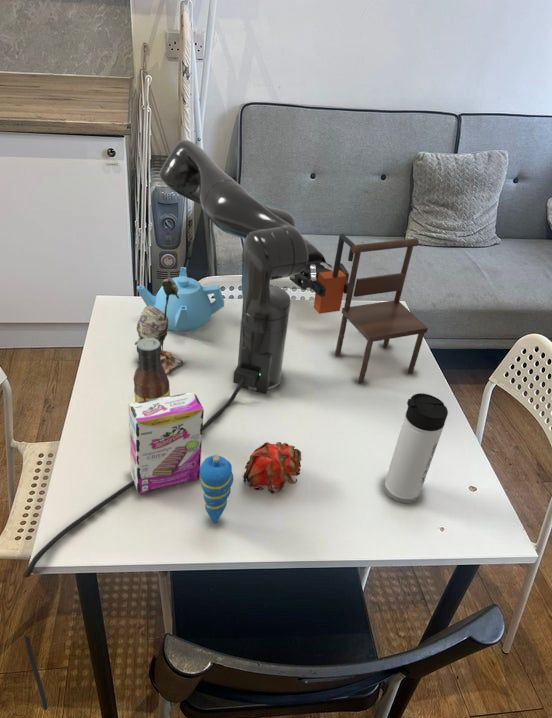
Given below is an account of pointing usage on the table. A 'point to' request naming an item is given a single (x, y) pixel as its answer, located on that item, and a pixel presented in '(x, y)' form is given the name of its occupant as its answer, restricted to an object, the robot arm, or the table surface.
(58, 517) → the table surface
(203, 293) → the teapot
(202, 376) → the table surface
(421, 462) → the travel mug
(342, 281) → the orange open padlock
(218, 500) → the ornament
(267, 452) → the dragon fruit
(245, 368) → the robot arm
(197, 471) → the candy bar box
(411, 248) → the chair
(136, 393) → the sauce bottle
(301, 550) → the table surface
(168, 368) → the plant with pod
